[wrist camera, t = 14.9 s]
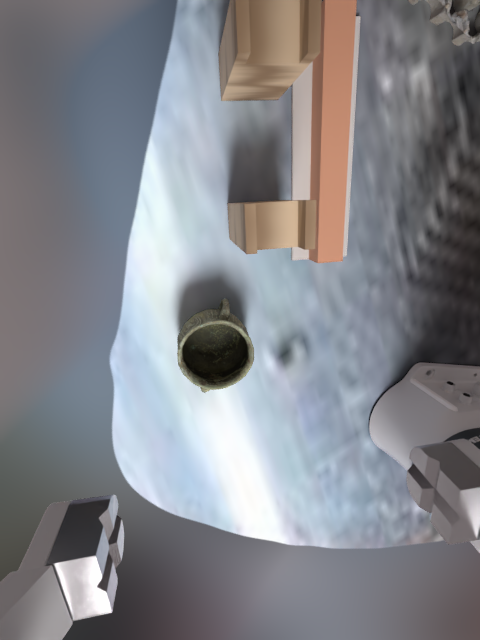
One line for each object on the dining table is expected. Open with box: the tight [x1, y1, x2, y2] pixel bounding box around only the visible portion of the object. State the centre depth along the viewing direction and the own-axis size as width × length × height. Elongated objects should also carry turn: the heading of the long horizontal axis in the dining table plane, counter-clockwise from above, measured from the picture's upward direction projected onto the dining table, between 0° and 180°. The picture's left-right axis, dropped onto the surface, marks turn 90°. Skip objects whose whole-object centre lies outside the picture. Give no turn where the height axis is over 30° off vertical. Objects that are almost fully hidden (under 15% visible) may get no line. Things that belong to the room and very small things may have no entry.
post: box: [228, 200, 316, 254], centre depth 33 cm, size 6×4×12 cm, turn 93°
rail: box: [309, 0, 357, 263], centre depth 36 cm, size 3×24×3 cm, turn 3°
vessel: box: [177, 299, 254, 393], centre depth 40 cm, size 12×9×6 cm
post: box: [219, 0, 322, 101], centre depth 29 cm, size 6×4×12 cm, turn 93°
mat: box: [291, 16, 361, 260], centre depth 37 cm, size 7×24×1 cm, turn 3°
